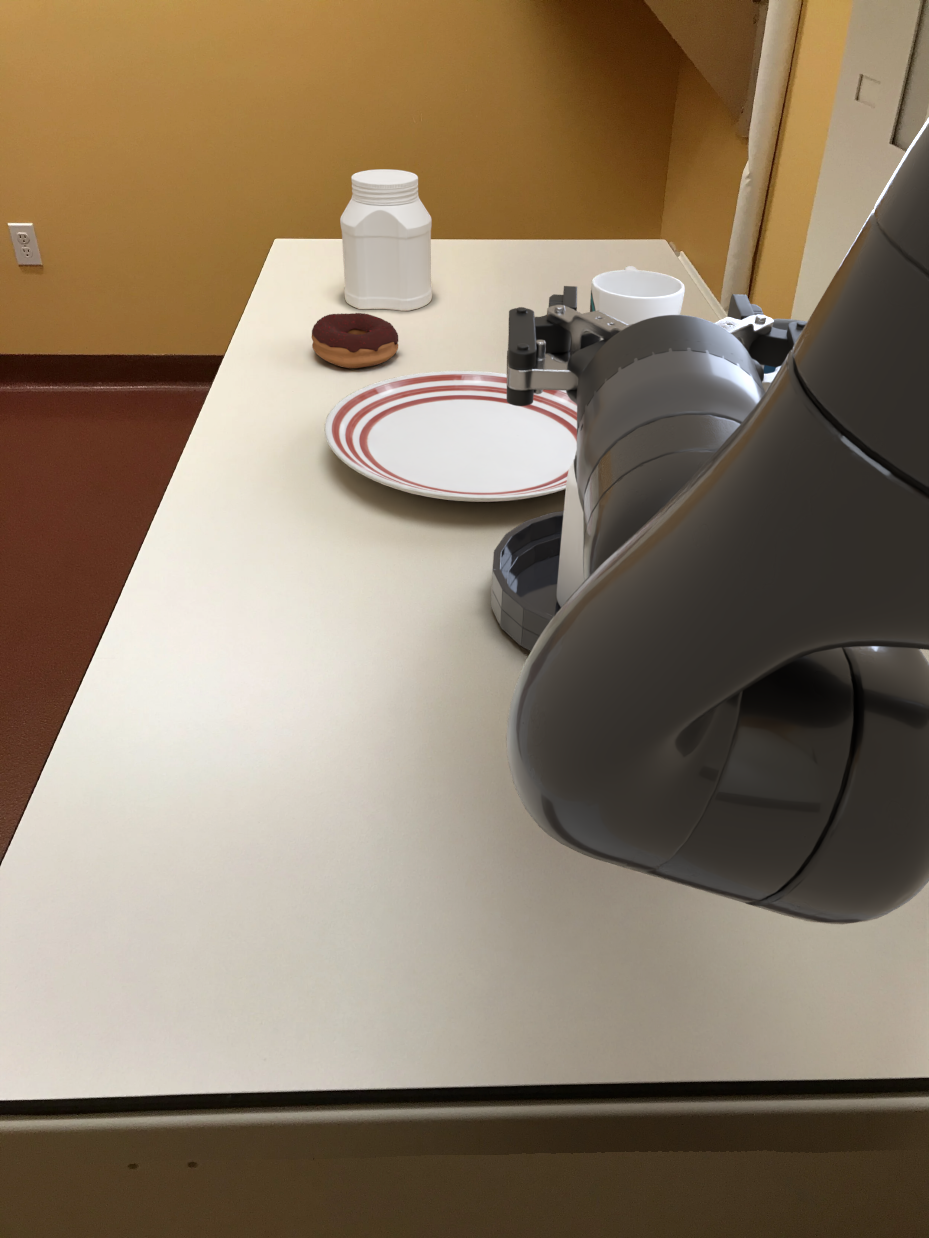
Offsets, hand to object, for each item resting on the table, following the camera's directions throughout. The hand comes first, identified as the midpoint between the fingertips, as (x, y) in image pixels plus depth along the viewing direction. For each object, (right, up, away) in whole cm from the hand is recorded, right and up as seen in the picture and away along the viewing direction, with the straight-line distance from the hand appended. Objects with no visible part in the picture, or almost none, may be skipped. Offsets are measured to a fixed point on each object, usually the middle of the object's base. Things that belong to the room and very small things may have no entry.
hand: (650, 309), depth 50 cm
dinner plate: (-9, -1, +41) cm, 42 cm away
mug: (+10, +16, +64) cm, 67 cm away
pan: (0, -15, +21) cm, 26 cm away
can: (0, -15, +21) cm, 26 cm away
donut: (-22, +14, +61) cm, 66 cm away
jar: (-20, +26, +77) cm, 84 cm away
